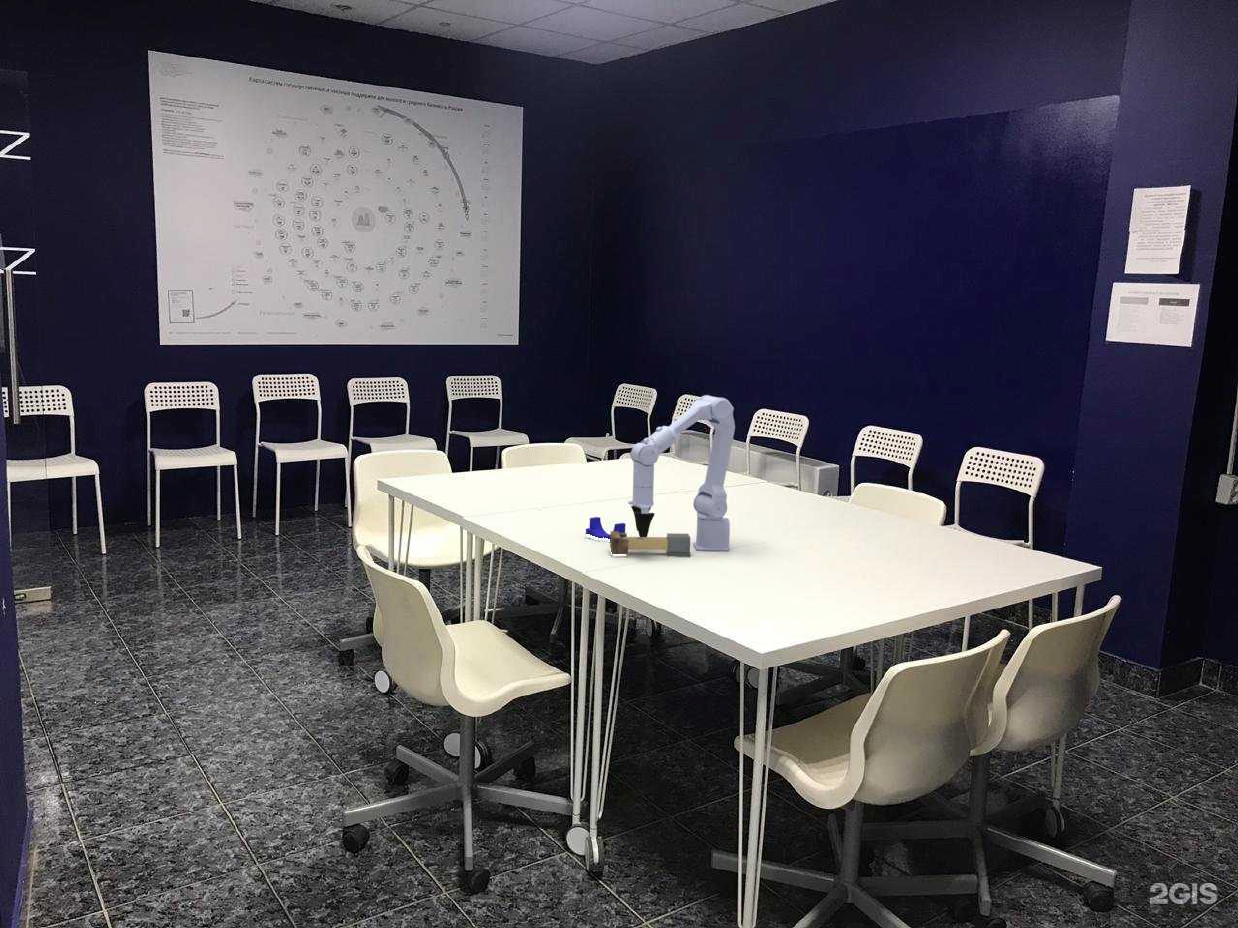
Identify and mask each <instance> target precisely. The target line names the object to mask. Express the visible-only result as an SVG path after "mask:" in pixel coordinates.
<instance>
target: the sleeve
mask: <svg viewBox="0 0 1238 928" xmlns="http://www.w3.org/2000/svg"><path fill="white" fill-rule="evenodd" d="M666 537H668V538H669V549H668V550H665V551H667V552H666V554H667V553H668V554H667V556H668V557H669V556H676V557H675V558H690V557H691V535H689V533H673V532H672V533H666ZM677 556H678V557H677Z"/></svg>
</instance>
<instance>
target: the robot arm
mask: <svg viewBox="0 0 1238 928" xmlns="http://www.w3.org/2000/svg"><path fill="white" fill-rule="evenodd" d="M734 410H735V408H734V406H733V405H732V404H731V402H730V400H728V399H726V398H724V397H717V396H711V395H709V394H705V395H702V396H701V397H699V398H698V399H697V400H695V401H694V402H693V403H692V405H691V406H690V407H689V408H688V409H686V411H684V413H682V414H681V415H680V416H679V417H677V418H676V420H675V421H673V422H672V423H671V424H670V425H669V426H667V425H662V426H658V427H656V429H655V432H653V433H652V434H651V435H649V436H648V437H645V438H644V439H643V442H637V443H636V444H634V446H633V447H632V449H631V452H629V456H630V457H629V458H630V459H631V461H632V462H633V469H632V471H633V475H632V478H633V479H632V500H628V501H627V502H628V503H627V504H628V505H630V507H631V510H632V513H633V515H634V521H635V529H636V531H637V532H638V537H648V535H649V530H650V527H651V523H652V520H653V519H654V517H655V512H650V511H651V509H652V507H653V506H654V480H655V476H654V475H655V473H654V471H655V464H656V463H657V462H658V459H659V457H660V455H662V453H663V452H665V451H666V450H668V448H669V447H671V446H672V445H674V444H675V443H676V441H677V436H678V435H680V434H681V433H683V432H684V431H685V430H687V429H688V428H689V427H691V426H693V425H694V424H695V423H697V422H699V421H708V422H709V424H710V425H711V426H712V428H713V429H714V434H713V439H712V445H711V450H710V454H709V461H708V465H707V470H706V474H705V480H704V483H703V484H702V485H701V486H700V487H699V488H698V492H697V494H696V495H695V497H694V499H693V502H692V506H693V509H694V510H695V511H696V535H695V536H696V537H695V538H696V539H695V542H693V543H692V544H693V547H694V548H695V550H697V551H730V533H731V532H730V531H731V527H730V526H731V525H730V524H731V522H730V519H729V518H728V517H725V515H726V514H727V512H728V504H727V497H728V494H727V492H726V489H725V488H724V485H725V479H726V475H727V469H728V465H729V460H730V454H731V452H732V451H731V450H732V445H733V440H734V436H735V431H736V430H735V429H736V425H735V424H736V423H735V418H734Z"/></svg>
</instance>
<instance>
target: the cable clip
mask: <svg viewBox="0 0 1238 928" xmlns="http://www.w3.org/2000/svg"><path fill="white" fill-rule="evenodd" d="M601 521H602V520H601V517H599V516H595V517H594V516H593V517H590V518H589V527H587V528H585V535H586V534H590V535H592V536H595V537H598V538H603V537H604V538H608V539H610V534H609V533H608V532H606V530H605V529H604V528H603V526H602V522H601ZM613 526H614V527H613V530H612V531H619V533H626V523H625V522H619V523H614V525H613Z"/></svg>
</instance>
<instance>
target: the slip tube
mask: <svg viewBox="0 0 1238 928" xmlns="http://www.w3.org/2000/svg"><path fill="white" fill-rule="evenodd" d="M620 538H628V539H629V542H628V551H629V550H630V551H631V550H633V551H666V550H668V549H669V538H668V537H667V536H664V537H663V536H647V537H640V536H627V537H620Z"/></svg>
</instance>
